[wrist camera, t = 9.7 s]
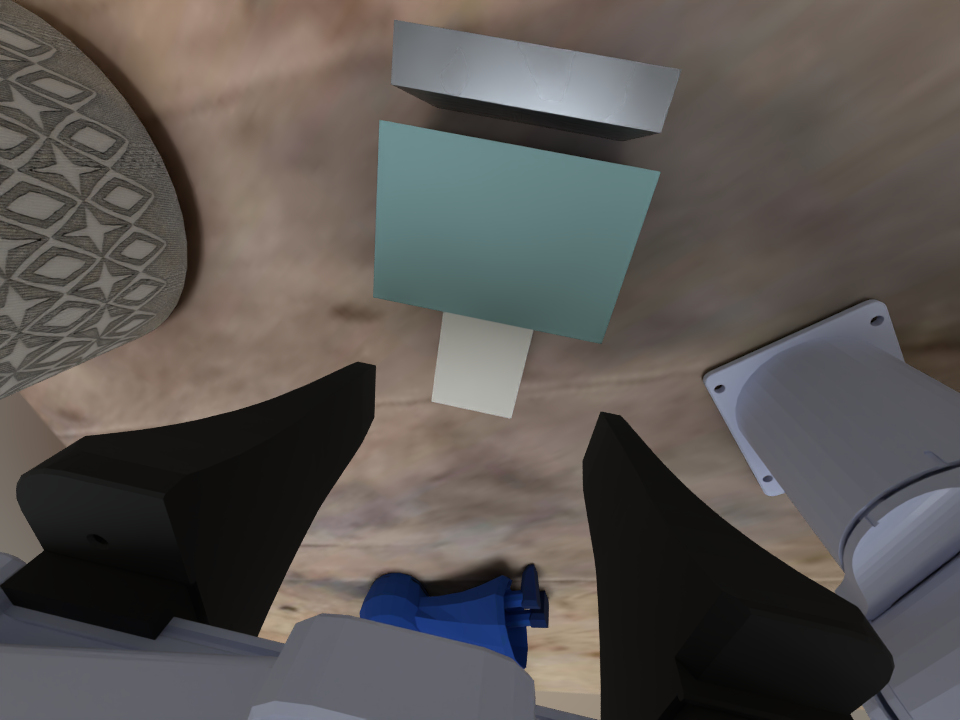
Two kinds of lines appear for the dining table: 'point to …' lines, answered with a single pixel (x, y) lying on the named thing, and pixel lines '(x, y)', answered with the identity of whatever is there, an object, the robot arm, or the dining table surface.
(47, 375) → the planter
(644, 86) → the wall
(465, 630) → the toy
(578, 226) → the block
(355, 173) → the dining table surface
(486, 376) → the peg
